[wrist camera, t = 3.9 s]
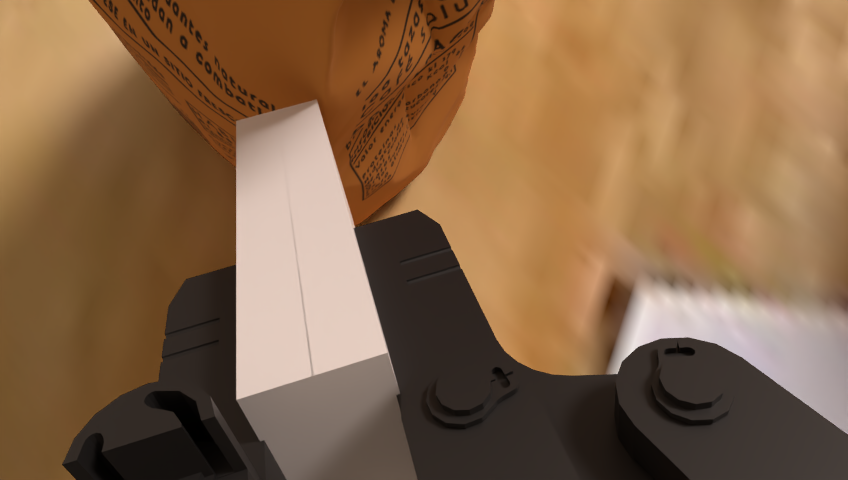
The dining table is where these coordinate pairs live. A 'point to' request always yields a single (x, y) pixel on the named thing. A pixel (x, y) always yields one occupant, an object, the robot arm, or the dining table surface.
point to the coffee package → (314, 73)
